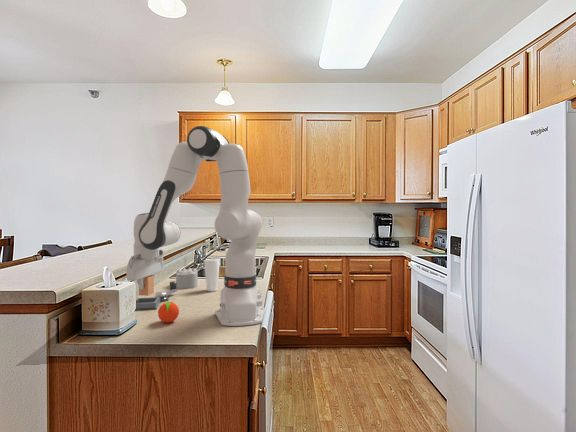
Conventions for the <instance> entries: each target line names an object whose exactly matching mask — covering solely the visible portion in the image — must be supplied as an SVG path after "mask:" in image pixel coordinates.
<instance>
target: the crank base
mask: <svg viewBox="0 0 576 432" xmlns="http://www.w3.org/2000/svg"><path fill="white" fill-rule="evenodd" d="M165 302H169V295H167V296H166V297H164V298H160V303H165Z"/></svg>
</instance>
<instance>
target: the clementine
mask: <svg viewBox="0 0 576 432" xmlns="http://www.w3.org/2000/svg"><path fill="white" fill-rule="evenodd" d="M179 313H180V309H179V306H178V305H177V304H176V303H175V302H174V301H165V302H163V303H162V304H161V305H159V308H158V310H157V316H158V319H159V320H160V321H161V322H162V323H166V324H167V323H169V324H170V323H172V322H174V321H176V320H177V318H178V317H179Z"/></svg>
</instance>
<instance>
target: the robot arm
mask: <svg viewBox="0 0 576 432" xmlns="http://www.w3.org/2000/svg"><path fill="white" fill-rule="evenodd" d="M203 161H205V162H208V163H209V162H216V163H217V167H218V175H219V184H220V186H219V187H220V204H219V205H220V206H219V211H218V215H217V216H216V218H215V220H214V230H215V232H216V234H217V235H218V236H219V237H220V238H221V239H226V240H228V241H230V242H229V247H228V249H227V251H226V253H225V255H224V256H225V258H224V259H225V260H224V261H225V271H224V272H225V275H224V279H223V284H224V287H223V288H222V289H221V290H220V294H219V295H220V297H219V298H220V302H219V308H220V309H216V310H215V311H214V314H215V316H216V318H217V320H218V321H219V322H220V325H222V326H227V327H228V326H229V327H230V326H231V327H236V326H237V327H238V326H239V327H241V326H243V327H244V326H253V325H257V324H261V323H263V321H264V317H265V313H266V308H265V307H264V306H263V300H262V299H261V298H262V294H260V293H261V291H260V288H259V287H258V286H257V274H256V250H257V244H258V240H259V234H260V232H261V230H262V227H263V220H262V217H261V216H260V214H259V213H258V212H256V211H254V210H252V209H248V204H249V197H250V195H251V192H252V189H251V183H250V180H251V179H250V173H249V165H248V161H247V157H246V153H245V150H244V149H243V147H242V146H241V145H239V144H238V143H237V144H236V143H230V141H229V140H228V139H227V138H226V137H225V136H224V135H222V134H221V133H219V132H218V131H216V130H215V129H213V128H210V127H207V126H205V125H198V126H194V127H193V128H191V129H190V130H189V131H188V133H187V136H186V141H182V142H179V143H178V144H177V145H175V148H174V150H173V153H172V155H171V157H170V160H169V163H168V166H167V170H166V173H165V176H164V177H163V181H162V183H161V184H160V185H159V186H158V189H157V192H156V194H155V197H154V199H153V202H152V205H151V207H150V209H149V212H147V213H146V212H145V213H139V214H138V215H136V216H135V218H134V222H133V238H134V241H133V242H134V243H133V255H132V256H131V257H130V258H129V260H128V262H127V266H126V275H125V276H126V280H127V281H128V282H129V281H131V282H135V281H136V283H137V285H138V290H139V289H144V288H145V284H143V280H144V278H145V277H148V276H154V277H155V275H156V274H159V273H162V272H163V270H164V257H163V256H164V254H165V251H164V249H161V248H163V247H167V246H171V245H175V244H176V243H177V242H178V241H179V240H180V238H181V229H180V227H179V225H178V223H175V222H173V221H170V220H167V217H168V215H169V212H170V209H171V207H172V204H173V203H174V202H175V200H176V199H178V198H179V197H181V196H182V195H184V194H186V193H188V192H189V191H191V190H192V188H193V186H194V184H195V182H196V180H197V176H198V171H199V168H200V165H201V163H202V162H203Z"/></svg>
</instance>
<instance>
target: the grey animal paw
mask: <svg viewBox="0 0 576 432" xmlns="http://www.w3.org/2000/svg"><path fill="white" fill-rule="evenodd" d="M198 280H199V279H198V270H197V269H196V268H193V269H192V268H191V267H189V268H187V269H186V268H185V267H184V268H182V269H177V270H176V274H175V281H176V282H177V290H185V289H195V288H198V283H199V282H198Z"/></svg>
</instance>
